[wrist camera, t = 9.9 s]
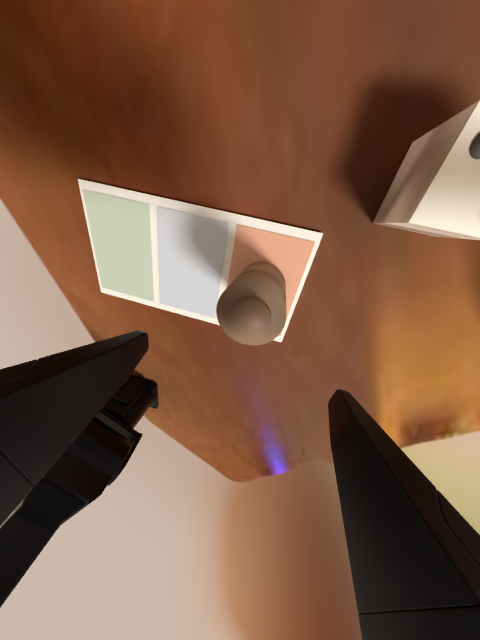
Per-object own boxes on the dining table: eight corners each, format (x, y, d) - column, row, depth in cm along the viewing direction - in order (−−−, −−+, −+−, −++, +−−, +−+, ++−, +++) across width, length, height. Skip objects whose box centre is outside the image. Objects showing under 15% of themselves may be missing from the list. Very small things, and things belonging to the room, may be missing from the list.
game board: (281, 340, 22) (281, 342, 22) (103, 291, 24) (100, 292, 24) (322, 233, 16) (323, 233, 16) (80, 179, 18) (76, 178, 18)
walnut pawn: (277, 314, 20) (273, 361, 13) (233, 301, 20) (207, 341, 13) (292, 269, 17) (298, 298, 10) (243, 256, 18) (216, 276, 11)
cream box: (435, 236, 15) (501, 241, 10) (372, 222, 15) (409, 222, 11) (489, 156, 12) (607, 117, 8) (411, 142, 13) (481, 98, 8)
